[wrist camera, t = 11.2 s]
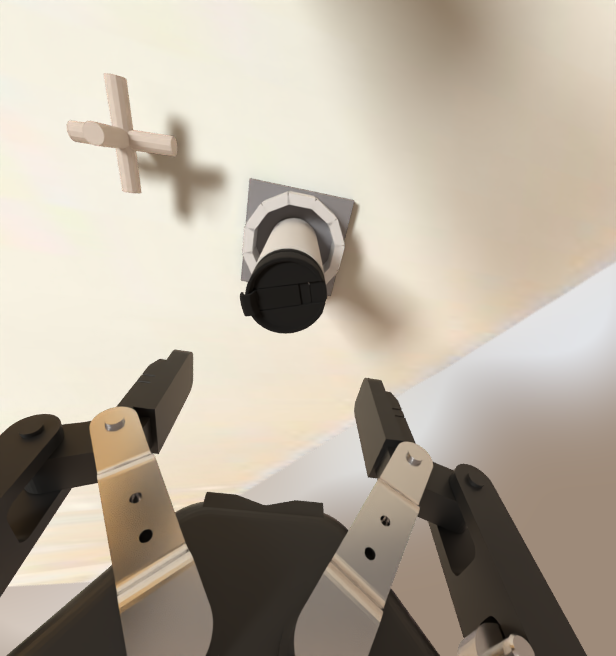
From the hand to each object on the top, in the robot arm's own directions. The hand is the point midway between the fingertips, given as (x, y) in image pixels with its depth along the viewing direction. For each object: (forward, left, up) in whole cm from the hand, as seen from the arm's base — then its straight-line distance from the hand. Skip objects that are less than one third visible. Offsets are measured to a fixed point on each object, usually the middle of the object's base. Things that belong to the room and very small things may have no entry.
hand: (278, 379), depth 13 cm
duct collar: (0, 0, -30) cm, 30 cm away
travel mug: (0, 0, -29) cm, 29 cm away
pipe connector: (-8, -19, -30) cm, 37 cm away
